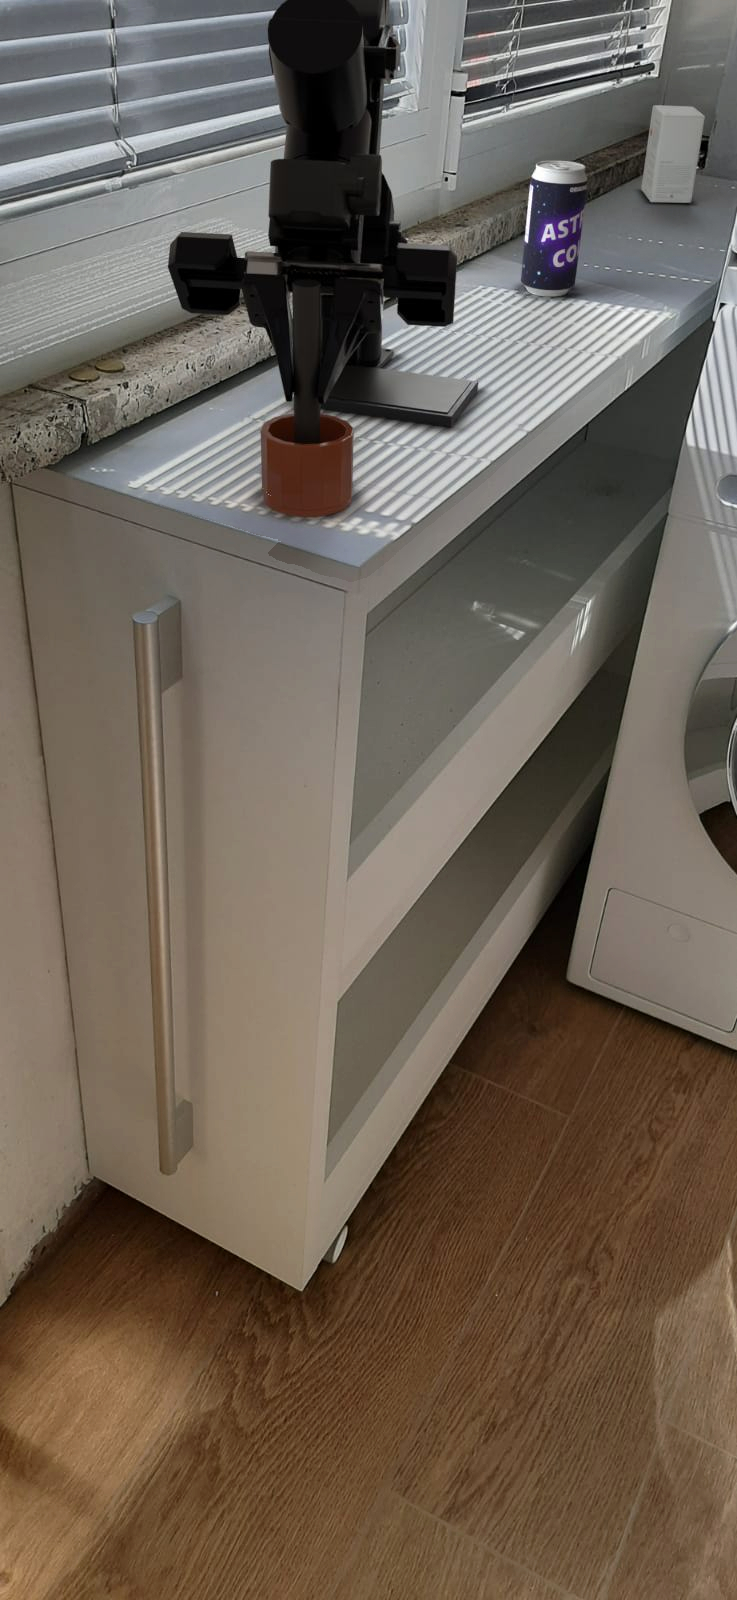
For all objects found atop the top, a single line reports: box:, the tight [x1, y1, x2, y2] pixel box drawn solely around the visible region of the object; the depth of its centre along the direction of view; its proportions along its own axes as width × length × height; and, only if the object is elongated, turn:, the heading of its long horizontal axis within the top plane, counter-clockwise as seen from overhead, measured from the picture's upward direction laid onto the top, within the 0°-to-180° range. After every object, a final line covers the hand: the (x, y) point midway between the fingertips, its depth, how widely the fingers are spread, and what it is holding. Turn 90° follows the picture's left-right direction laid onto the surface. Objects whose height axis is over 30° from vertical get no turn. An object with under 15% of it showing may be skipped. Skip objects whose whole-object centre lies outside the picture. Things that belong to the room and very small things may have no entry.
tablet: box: [321, 365, 479, 428], centre depth 104 cm, size 9×13×1 cm
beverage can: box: [520, 160, 589, 298], centre depth 129 cm, size 6×6×12 cm
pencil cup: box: [260, 412, 355, 518], centre depth 87 cm, size 6×6×5 cm
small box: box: [640, 104, 706, 204], centre depth 168 cm, size 8×6×10 cm
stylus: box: [291, 279, 322, 444], centre depth 84 cm, size 2×2×14 cm
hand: (304, 399), depth 83 cm, fingers closed on stylus, 2 cm apart
